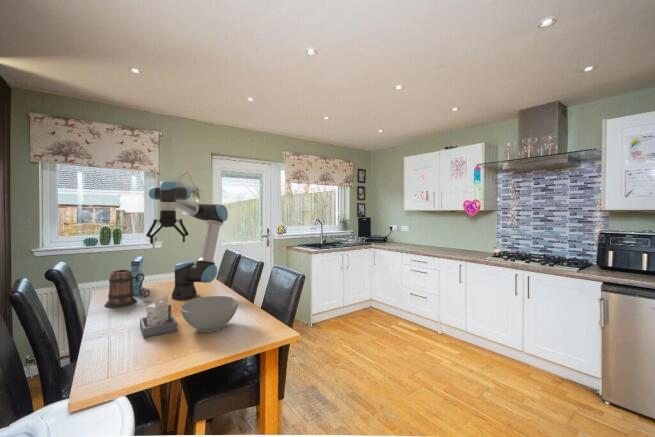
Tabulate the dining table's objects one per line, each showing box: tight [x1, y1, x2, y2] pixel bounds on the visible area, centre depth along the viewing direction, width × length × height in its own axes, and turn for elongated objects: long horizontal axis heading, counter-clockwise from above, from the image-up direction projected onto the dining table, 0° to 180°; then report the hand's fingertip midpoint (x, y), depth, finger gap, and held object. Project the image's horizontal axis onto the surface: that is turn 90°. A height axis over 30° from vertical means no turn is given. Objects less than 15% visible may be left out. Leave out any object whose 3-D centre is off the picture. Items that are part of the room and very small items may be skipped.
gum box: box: [130, 256, 144, 296], centre depth 206 cm, size 20×5×23 cm, turn 26°
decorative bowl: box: [179, 295, 240, 333], centre depth 146 cm, size 27×27×12 cm
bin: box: [139, 312, 178, 339], centre depth 143 cm, size 14×16×4 cm
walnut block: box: [168, 303, 172, 314], centre depth 155 cm, size 5×7×8 cm
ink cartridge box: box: [146, 295, 169, 327], centre depth 143 cm, size 9×5×15 cm, turn 169°
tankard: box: [103, 269, 151, 309], centre depth 181 cm, size 24×17×20 cm
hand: (167, 249), depth 160 cm, fingers open, 13 cm apart
